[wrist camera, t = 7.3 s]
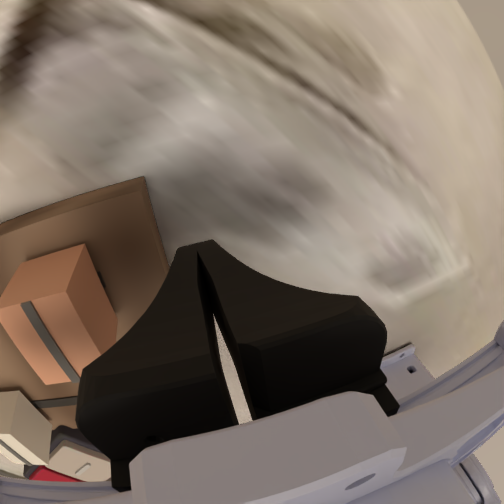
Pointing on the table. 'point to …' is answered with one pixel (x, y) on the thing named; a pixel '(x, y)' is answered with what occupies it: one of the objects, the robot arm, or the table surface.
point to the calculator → (71, 460)
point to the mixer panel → (105, 263)
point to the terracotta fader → (58, 314)
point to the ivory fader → (23, 431)
